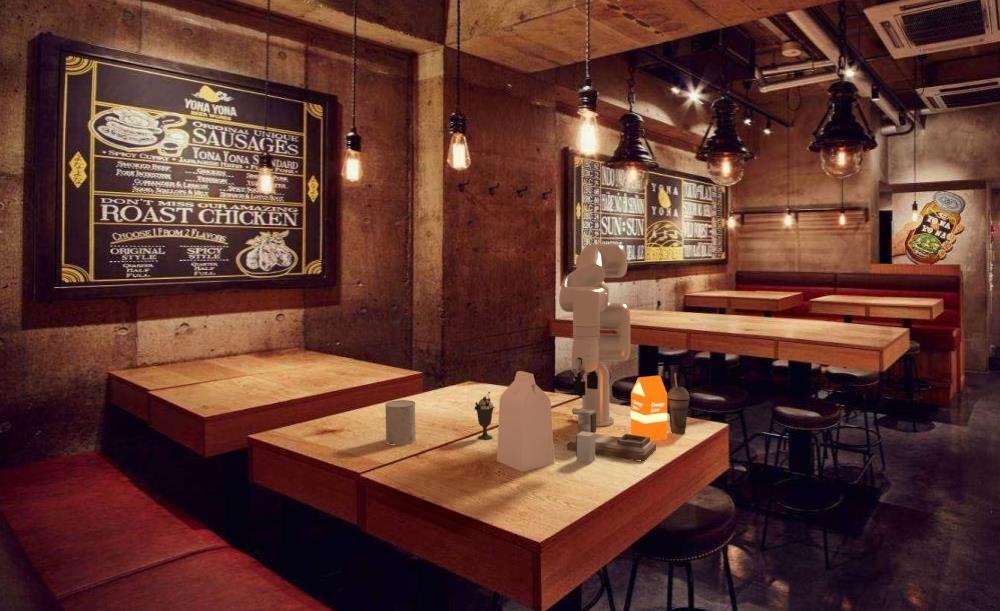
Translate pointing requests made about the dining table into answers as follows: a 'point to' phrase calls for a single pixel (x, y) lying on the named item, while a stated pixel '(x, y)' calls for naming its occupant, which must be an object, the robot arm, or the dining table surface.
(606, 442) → the rail board
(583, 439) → the white block dark cap
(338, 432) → the dining table surface
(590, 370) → the robot arm
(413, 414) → the gray can
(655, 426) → the orange juice
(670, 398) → the beverage cup
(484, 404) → the sundae
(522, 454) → the milk
